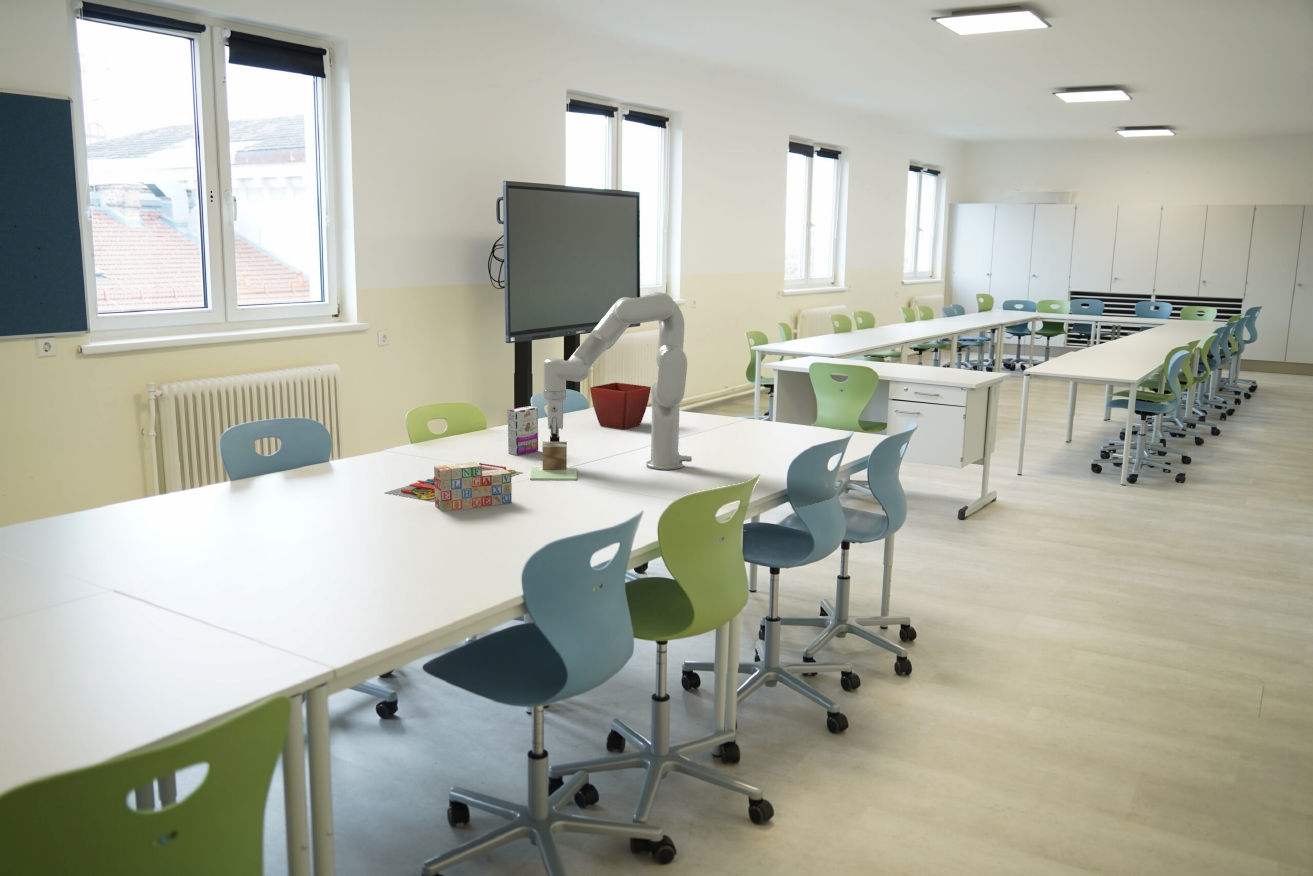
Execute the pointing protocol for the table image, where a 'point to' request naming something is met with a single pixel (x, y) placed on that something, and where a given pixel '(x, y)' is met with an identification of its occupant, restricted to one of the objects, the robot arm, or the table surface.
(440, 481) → the stack of blocks
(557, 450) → the walnut slab
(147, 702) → the table surface
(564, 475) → the green mat
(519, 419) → the candy bar box
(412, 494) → the gear board
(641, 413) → the plant pot
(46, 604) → the table surface
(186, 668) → the table surface
